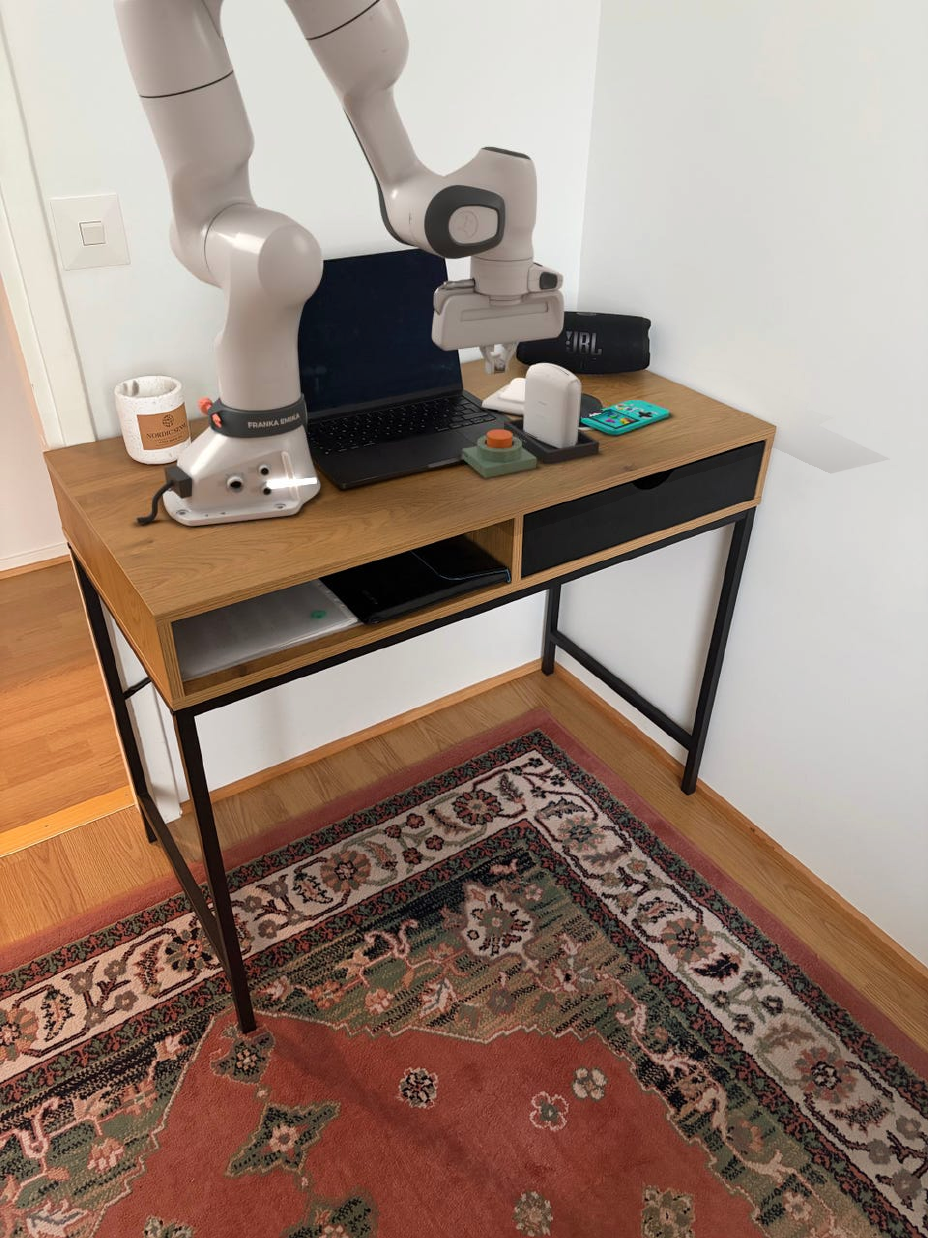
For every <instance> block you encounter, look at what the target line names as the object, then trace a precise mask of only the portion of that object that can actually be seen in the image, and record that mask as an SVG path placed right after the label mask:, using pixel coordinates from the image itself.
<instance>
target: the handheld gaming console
mask: <svg viewBox="0 0 928 1238" xmlns="http://www.w3.org/2000/svg"><path fill="white" fill-rule="evenodd" d="M601 410H603V412H602V413H601V414H599V415H596V416H593V417H589V418H582V417H581V419H580V423H582V424H584V425H586V426H589V427H590V428H593V429H596V430H598V431H601V432H602V433H606V434H608V435H611V436H618V435H622V434H624V433H627V432H630V431H633V430H635V429H637V428H641V427H643V426H646V425H649V424H652V423H656V422H657V421H660V420H663V419H666V418H668V417H669V415H670V410H669V409H667V408H664V407H662V406H659V405H656V404H654V403H650V402H647V401H645V400H640V399H639V400H638V399H631V400H630V399H629V400H625V401H623V402H620V403H616V404H614V405H610V406H608V407H605V408H601Z"/></svg>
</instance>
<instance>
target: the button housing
mask: <svg viewBox="0 0 928 1238" xmlns="http://www.w3.org/2000/svg"><path fill="white" fill-rule="evenodd" d="M462 452H464V453H465V454H466V455H467V457H466V456H465V455H464V454H463V453H462ZM461 459H462V460H463V461H464V462H466V463H467V464H468V465H469V466H470V467H472V468H473V469H474V470H475V471H476V472H478V473H479V474H480V475H481V476H482V477H483V478H485V479H488V478H492V477H493V478H494V477H497V476H501V475H506V474H507V475H508V474H511V473H512V474H513V473H516V472H521V471H526V470H531V469H536V468H537V461H538V460H537V459H538V457H536V456H535V455H534V454H532V453H531V452H530V451H528V450H527V449H526V448H524V447H523V446H522V441H521V440H519V439H518V438H517V437H514V436H513V441H512V446H511V447H509V448H504V449H500V448H492V447H489V446H487V434H486V435H483V436H481V437H479V438H477V443H476V445H475V446H470V447H465V448H462V449H461Z"/></svg>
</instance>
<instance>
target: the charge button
mask: <svg viewBox="0 0 928 1238" xmlns="http://www.w3.org/2000/svg"><path fill="white" fill-rule="evenodd" d="M486 435H487V446H489V447H492V448H500V449H504V448H509V447H511V446H512V441H513V434H512V433H511V432H510V431H507V430H504V429H497V428H496V429H491V430H489V431H488V432H487V433H486Z"/></svg>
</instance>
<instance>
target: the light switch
mask: <svg viewBox="0 0 928 1238" xmlns="http://www.w3.org/2000/svg"><path fill="white" fill-rule="evenodd" d="M525 379H526V378H523V377H515V378H514V379H512V380H511V381H510V383H506V385H504V386H503V387H501V388H500V389H498V390H496V391H495V392H494V393H492V394H491V395H489V396H487V398H485V399H484V400H483V401H482V404H481V408H485V409H490V410H497V412H500V413H504V414H511V415H516V416H524V400H525Z"/></svg>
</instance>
